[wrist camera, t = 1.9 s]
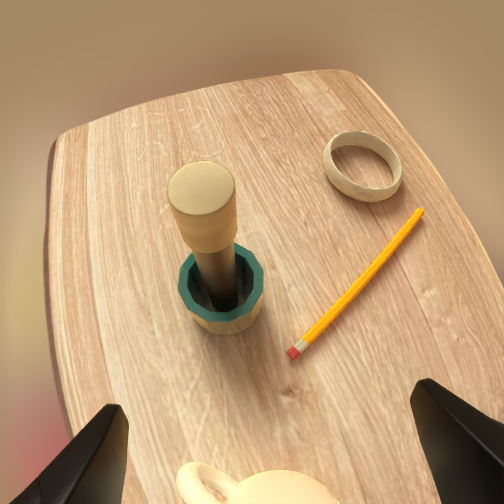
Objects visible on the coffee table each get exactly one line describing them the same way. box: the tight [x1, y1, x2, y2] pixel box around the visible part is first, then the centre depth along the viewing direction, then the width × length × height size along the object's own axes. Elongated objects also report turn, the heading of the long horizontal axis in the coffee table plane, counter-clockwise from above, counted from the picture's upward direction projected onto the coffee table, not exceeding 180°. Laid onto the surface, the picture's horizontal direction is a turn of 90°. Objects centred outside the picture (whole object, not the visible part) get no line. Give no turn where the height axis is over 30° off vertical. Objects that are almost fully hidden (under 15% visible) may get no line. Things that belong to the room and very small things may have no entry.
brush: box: [167, 161, 239, 312], centre depth 17 cm, size 2×2×14 cm
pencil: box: [287, 208, 424, 360], centre depth 25 cm, size 1×18×1 cm, turn 133°
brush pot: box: [178, 243, 263, 336], centre depth 22 cm, size 5×5×5 cm
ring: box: [323, 131, 403, 202], centre depth 29 cm, size 8×8×2 cm
